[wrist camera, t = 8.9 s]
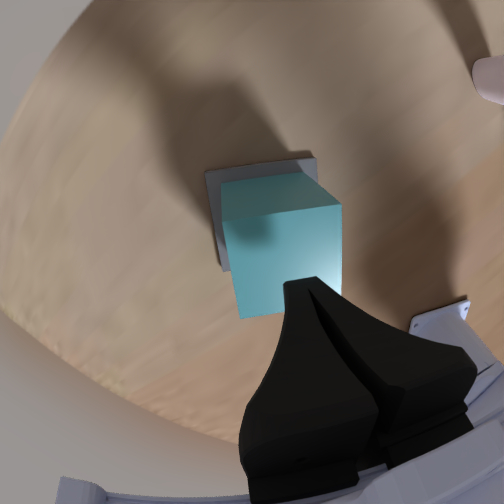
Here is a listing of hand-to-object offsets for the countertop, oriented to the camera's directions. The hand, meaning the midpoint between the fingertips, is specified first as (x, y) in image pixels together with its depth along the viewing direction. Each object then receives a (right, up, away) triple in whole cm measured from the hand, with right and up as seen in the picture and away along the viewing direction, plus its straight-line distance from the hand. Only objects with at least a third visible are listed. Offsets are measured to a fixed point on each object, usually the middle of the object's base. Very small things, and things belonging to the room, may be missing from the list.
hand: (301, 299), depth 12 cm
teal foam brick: (-1, +4, +8) cm, 9 cm away
